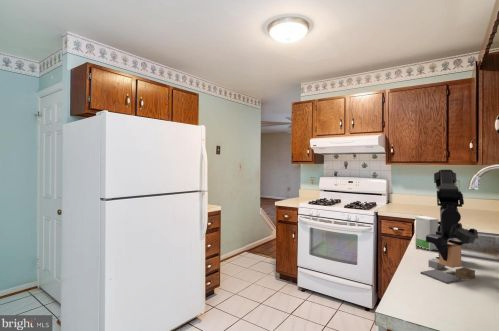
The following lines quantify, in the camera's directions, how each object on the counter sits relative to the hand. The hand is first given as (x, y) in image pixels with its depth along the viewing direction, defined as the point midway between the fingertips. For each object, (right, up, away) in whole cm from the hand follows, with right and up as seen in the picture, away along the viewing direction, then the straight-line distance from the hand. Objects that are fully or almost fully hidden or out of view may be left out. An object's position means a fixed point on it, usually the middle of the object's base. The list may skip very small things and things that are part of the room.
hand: (450, 259), depth 105 cm
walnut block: (+2, -5, -5) cm, 7 cm away
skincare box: (+12, -6, +33) cm, 35 cm away
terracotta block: (0, -2, 0) cm, 2 cm away
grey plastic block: (-2, -5, +5) cm, 8 cm away
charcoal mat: (-7, -5, -4) cm, 10 cm away
